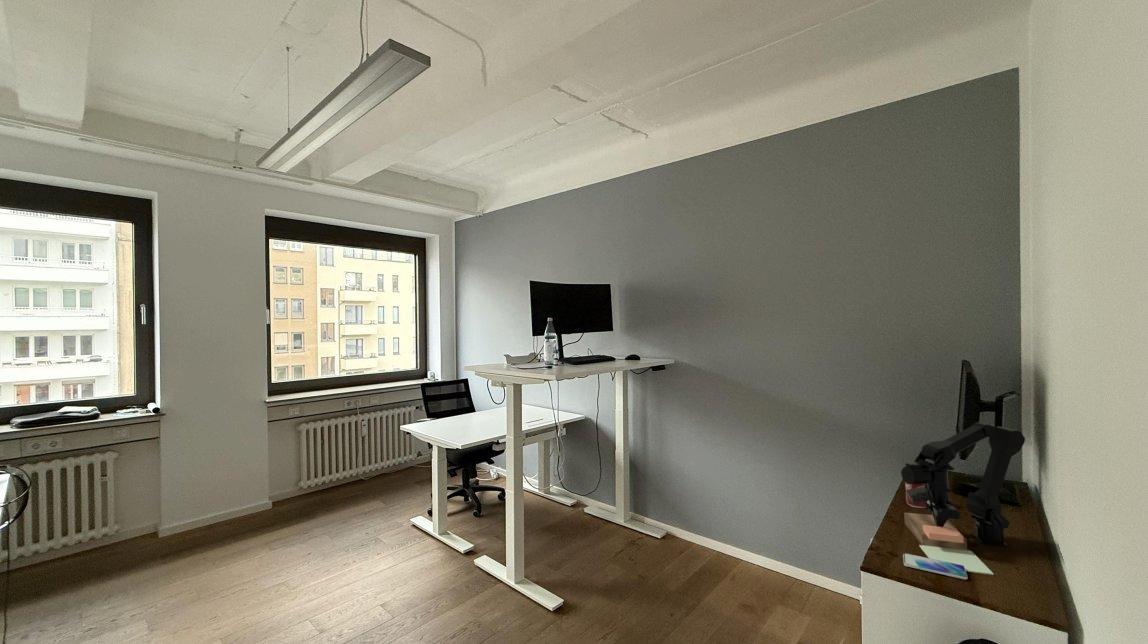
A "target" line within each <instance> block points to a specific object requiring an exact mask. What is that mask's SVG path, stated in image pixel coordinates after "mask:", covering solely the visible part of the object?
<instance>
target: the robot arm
mask: <svg viewBox="0 0 1148 644" xmlns="http://www.w3.org/2000/svg"><path fill="white" fill-rule="evenodd" d="M986 438H988V444H989V446H990V449H991V452H990V455H989V457H988V460H987V463H986V467H985V470H984V472H983V475H982V480H981V482H980V486H979V489H978V490H977V491H975V492H971V491H970V492H968V493H967V498H966V500H965V501H964V503H965V504H966V505H965V506H966V507H965V508H966V509H967V511H968V513H969V514H970V517H971V518H972V519H974V520H975V523H974V524H973V527H974V528H973V529H974V530H973V531H974V532H973V533H974V534H973V536H974V537H975V538H976V539H978V541H979V542H981V543H982V544H984V545H992V546H1000V547H1008V544H1007V543H1006V542H1005V535H1004V533H1005V532H1004V530H1005V529H1008V528H1009V525H1010V521H1009V520H1008V518H1006V517H1005V516H1003V515H1002V514H1001V513H1002V504H1001V502H1000V498H999V496H1000V493H1001V490H1002V486H1003V483H1004V480H1005V477H1006V474H1007V471H1008V468H1009V465H1010V462H1011V459H1012V457H1013V456H1014V455H1016V454H1018V453H1019V452H1020V451H1021V450H1022V447H1023V446H1024V444H1025V441H1026V438H1025V436H1024V434H1023V433H1022V432H1021V431H1019V430H1016V429H1012V428H1007V427H1005V426H993V425H992V424H988V423H983V422H978V421H977V422H974V423H972V425H971V426H970V427H968V428H966V429H963V430H961V431H959V432H958V433H956V434H954V435H952V436H950V437H948V438H947V439H944V440H938V441H937V440H936V441H932V442H929V443H926V444H923V446H922V447H921V451H920V452H919V454H918V455H917V457H916V458H915V460H914V463H911V462H905V466H903V467H902V468H901V471H900V474H901V478H902V480H903V481H904V483H905V482H906V483H907V484H924V487H921V488H915V489H910V490H907V491H906V490H905V493H906V492H907V494H908V496H909V499H910V500H911V501H912V503H913V504H918V503H921V502H926V501H927V503H924V504H925V505H926V506H927V508H928V510H929V511H930V512H931V515H933V517H934V520H935V523H936V526H938V527H943V526H944V525H945V523H946V521H947V520H948V521H949V519H951V520H952V519H953V520H962V513H961V511H959V510H958V509H957V508H956V507H955V506H953V505H952V500H950V495H949V493H951V492H952V489H951V488H950V487H949V473H948V472H949V471H955V467H953V466H952V465H950V463H951V462H952V461H954V460H955V459H956V458H957V454H958V453H960V452H961V451H963V450H965V449H968V447H971V446H972V445H975V444H976V443H978V442H981V441H982V440H984V439H986Z"/></svg>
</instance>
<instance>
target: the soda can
mask: <svg viewBox="0 0 1148 644" xmlns="http://www.w3.org/2000/svg"><path fill="white" fill-rule="evenodd" d="M904 483H905V501H906V504H907V505H908V506H911V507H913V508H918V509H927V508H928V507H927V506H926V505H925V504H924V503H927V501H926V502H921V503H918V504H913V503H912V501H911V500H910V499H909V496H908V494H907V492H906V491H907V490H910V489H915V488H921V487H924V484H907V483H906V482H905V481H904Z"/></svg>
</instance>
